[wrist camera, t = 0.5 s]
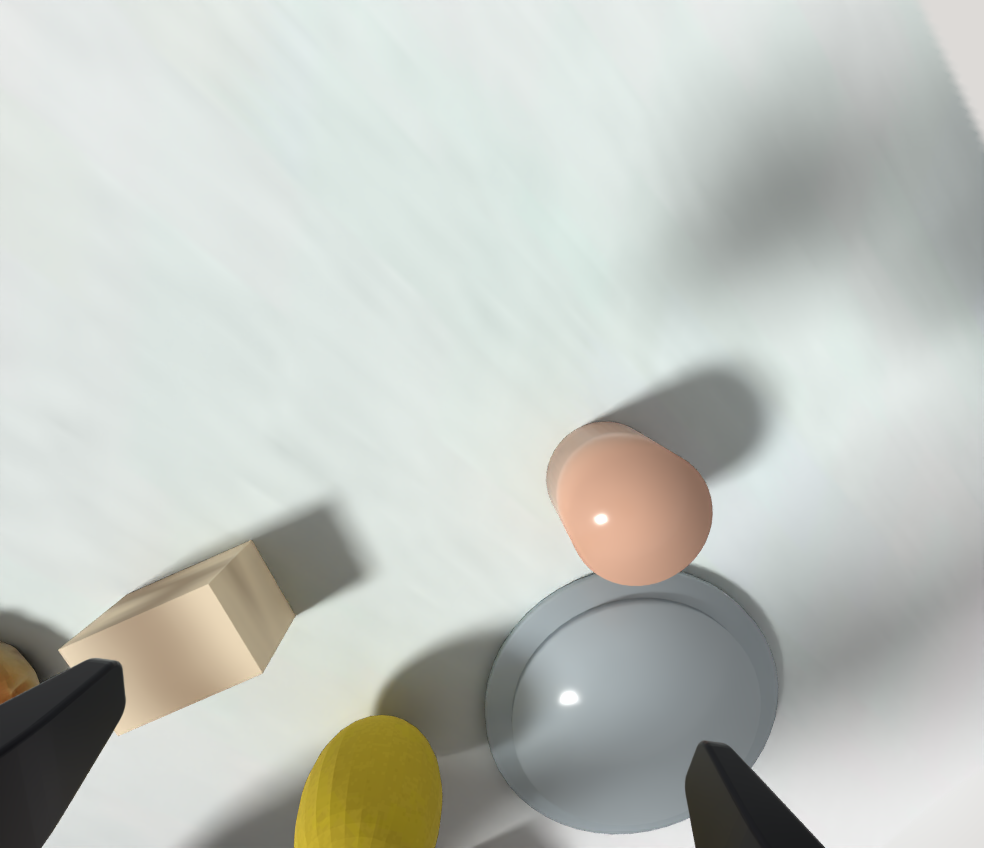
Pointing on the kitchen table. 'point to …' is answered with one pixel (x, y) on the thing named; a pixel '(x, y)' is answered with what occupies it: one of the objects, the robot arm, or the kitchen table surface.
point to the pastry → (14, 673)
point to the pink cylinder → (628, 503)
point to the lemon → (372, 789)
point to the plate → (626, 699)
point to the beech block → (189, 634)
